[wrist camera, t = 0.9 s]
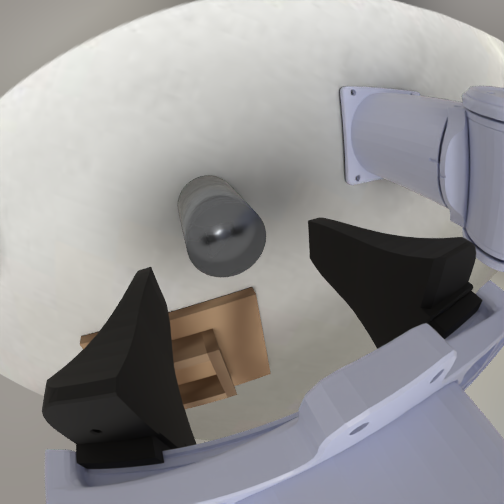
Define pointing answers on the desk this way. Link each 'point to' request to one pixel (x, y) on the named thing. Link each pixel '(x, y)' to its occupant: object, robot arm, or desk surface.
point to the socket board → (215, 347)
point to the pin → (219, 227)
